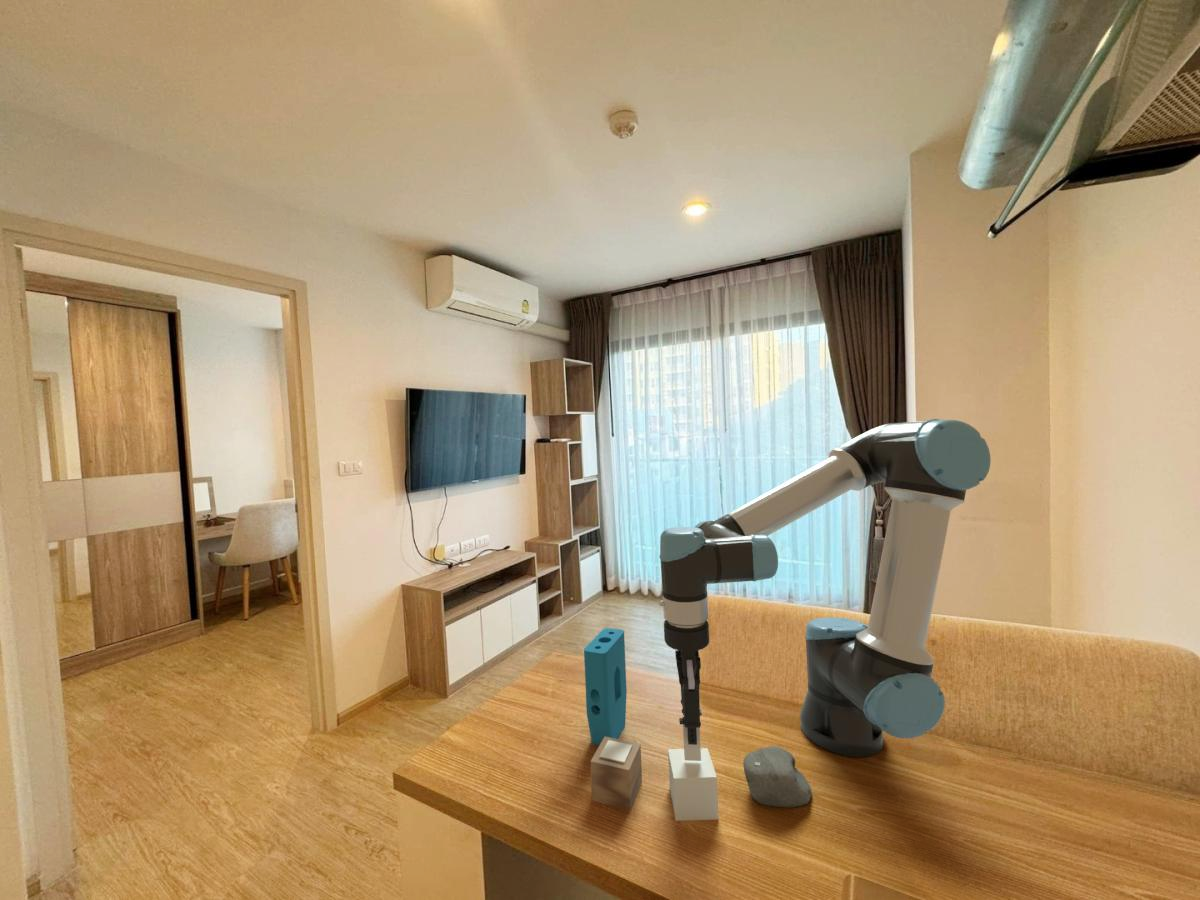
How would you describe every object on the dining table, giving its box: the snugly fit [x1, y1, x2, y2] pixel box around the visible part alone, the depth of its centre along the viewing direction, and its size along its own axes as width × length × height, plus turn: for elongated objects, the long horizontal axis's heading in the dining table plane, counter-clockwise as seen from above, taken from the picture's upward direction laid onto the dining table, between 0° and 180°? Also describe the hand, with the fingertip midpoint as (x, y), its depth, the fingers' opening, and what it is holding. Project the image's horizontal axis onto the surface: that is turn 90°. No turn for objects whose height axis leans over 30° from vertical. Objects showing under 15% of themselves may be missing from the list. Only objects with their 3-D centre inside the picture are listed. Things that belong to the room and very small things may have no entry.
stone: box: [743, 745, 814, 808], centre depth 78 cm, size 9×9×10 cm
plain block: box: [667, 747, 720, 822], centre depth 77 cm, size 7×7×7 cm
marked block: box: [590, 737, 643, 812], centre depth 80 cm, size 7×7×7 cm
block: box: [583, 627, 628, 746], centre depth 96 cm, size 12×5×20 cm, turn 157°
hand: (692, 757), depth 77 cm, fingers closed
